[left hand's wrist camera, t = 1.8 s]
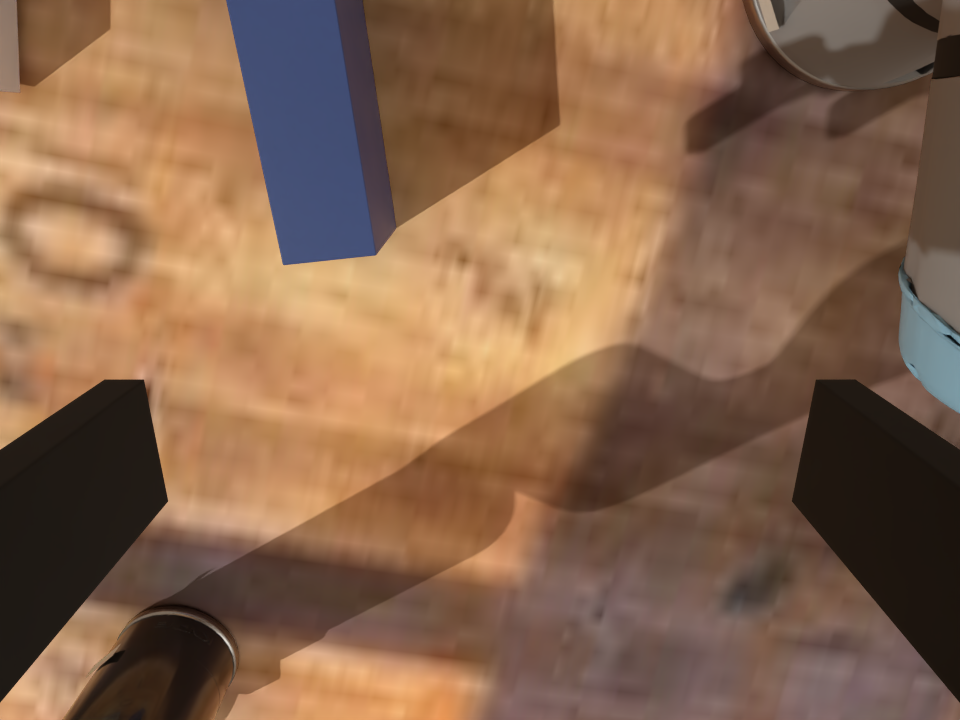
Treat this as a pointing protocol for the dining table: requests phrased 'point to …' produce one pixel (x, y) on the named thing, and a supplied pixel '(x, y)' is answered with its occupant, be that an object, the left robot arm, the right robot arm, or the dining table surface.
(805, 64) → the left robot arm
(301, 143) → the bar
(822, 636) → the dining table surface
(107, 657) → the right robot arm
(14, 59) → the disc drive
